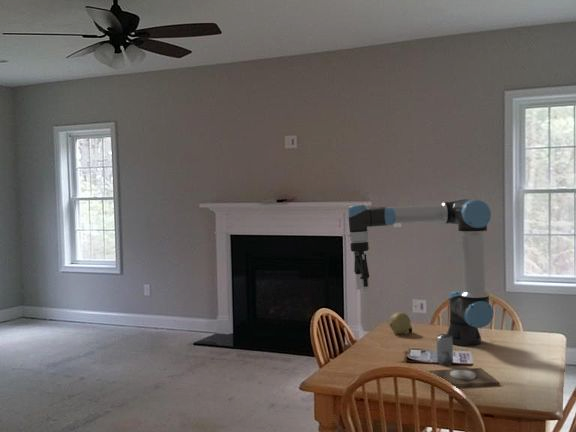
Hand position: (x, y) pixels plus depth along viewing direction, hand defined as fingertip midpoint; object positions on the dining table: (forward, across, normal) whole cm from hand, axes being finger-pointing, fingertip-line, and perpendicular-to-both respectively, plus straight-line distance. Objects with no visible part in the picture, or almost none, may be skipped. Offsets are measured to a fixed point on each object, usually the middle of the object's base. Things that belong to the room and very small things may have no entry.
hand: (362, 291), depth 233 cm
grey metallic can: (+29, +16, +28) cm, 43 cm away
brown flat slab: (+29, +35, +28) cm, 53 cm away
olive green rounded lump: (+28, -33, +23) cm, 49 cm away
